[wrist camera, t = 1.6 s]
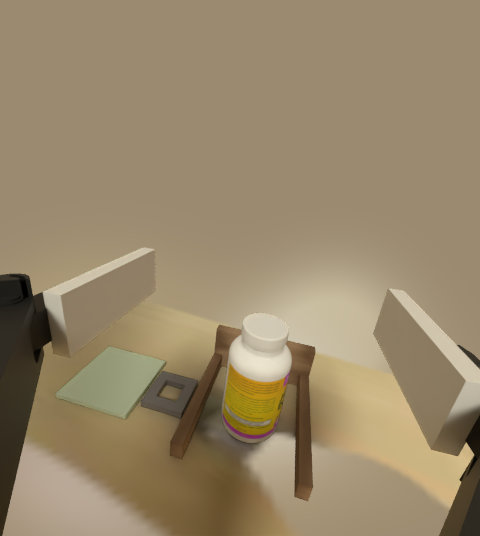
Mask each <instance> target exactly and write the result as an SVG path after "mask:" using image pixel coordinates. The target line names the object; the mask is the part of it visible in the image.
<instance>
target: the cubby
mask: <svg viewBox="0 0 480 536" xmlns="http://www.w3.org/2000/svg"><path fill="white" fill-rule="evenodd" d="M239 335H241V330H240V329H235V328H231V327H227V326H223V325H219V326H218V328H217V333H216V343H215V353H214V355H213V357H212V359H211V361H210V363H209V365H208V367H207V369H206V371H205V373H204V375H203V377H202V379H201V381H200V383H199V385H198V387H197V389H196V391H195V393H194V395H193V397H192V399H191V401H190V403H189V405H188V407H187V409H186V412H185V414H184V416H183V418H182V420H181V422H180V424H179V426H178V428H177V430H176V432H175V434H174V436H173V438H172V440H171V448H170V455H171V456H174V457H177V458H180V459H182V457H183V455H184V452H185V450H186V448H187V445H188V443H189V441H190V438H191V436H192V433H193V431H194V429H195V426H196V424H197V422H198V419H199V417H200V415H201V412H202V410H203V407H204V405H205V403H206V400H207V398H208V396H209V393H210V391H211V389H212V386H213V384H214V382H215V379H216V377H217V374H218V372H219V370H220V367H221V366H224V367H227V364H228V356H229V349H230V346H231V344H232V342H233V341H234V340H235V339H236V338H237V337H238V336H239ZM286 345H287V347H288V348H289V350H290V352H291V356H292V365H291V369H290V373H289V377H288V382H287V383H289V384H293V385H297V404H296V450H295V452H296V453H295V497H297V498H300V499H303V500H306V501H308V499H309V497H310V494H311V491H312V488H313V483H312V482H313V481H312V452H311V425H310V398H309V374H310V370H311V367H312V363H313V359H314V356H315V347H312V346H308V345H304V344H299V343H295V342H291V341H287V343H286Z"/></svg>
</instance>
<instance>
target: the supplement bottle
mask: <svg viewBox="0 0 480 536" xmlns="http://www.w3.org/2000/svg"><path fill="white" fill-rule="evenodd" d="M288 334H289V328H288V326H287V324H286V323H285V322H284V321H283V320H281V319H280V318H278V317H275V316H273V315H269V314H264V313H256V314H251V315H249V316H247V317H246V318H245V319H244V321H243V324H242V329H241V335H239V336H238V337H237V338H236V339H235V340H234V341H233V342H232V344H231V346H230V349H229V356H228V364H227V372H226V380H225V387H224V394H223V402H222V410H221V416H222V421H223V424H224V426H225V428H226V429H227V431H228V432H229V433H230V434H231V435H232V436H233V437H235V438H236V439H238V440H240V441H242V442H246V443H259V442H262V441H265V440H267V439H268V438H269V437H270V436H271V435H272V434H273V433H274V431H275V430H276V427H277V424H278V420H279V416H280V412H281V407H282V403H283V399H284V395H285V390H286V386H287V382H288V377H289V373H290V369H291V365H292V356H291V352H290V350H289V348H288V347H287V345H286V343H287V339H288Z"/></svg>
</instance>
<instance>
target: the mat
mask: <svg viewBox="0 0 480 536" xmlns="http://www.w3.org/2000/svg"><path fill="white" fill-rule="evenodd" d="M165 365H166V361H163V360H160V359H156V358H152V357H149V356H145V355H141V354H137V353H134V352H130V351H126V350H123V349H119V348H115V347H111V346H108V347H107V348H106V349H105V350H104V351H103V352H102V353H101V354H99V355H98V356H97V357H96V358H95V359H94V360H93V361H91V362H90V363H89V364H88V365H87V366H86V367H85V368H84V369H82V370H81V371H80V372H79V373H78V374H77V375H76V376H74V377H73V378H72V379H71V380H70V381H69V382H68V383H66V384H65V385H64V386H63V387H62V388H61V389H60V390H59V391H57V392H56V393H55V395H56V398H59V399H63V400H66V401H69V402H72V403H75V404H78V405H82V406H85V407H88V408H91V409H94V410H97V411H100V412H104V413H107V414H110V415H113V416H116V417H119V418H122V419H126V418H127V417H128V416H129V414H130V413H131V412H132V410H133V409H134V407H135V406H136V405H137V403H138V402H139V401H140V399H141V398H142V396H143V395H144V394H145V392H146V391H147V389H148V388H149V387H150V385H151V384H152V383H153V381H154V380H155V378H156V377H157V376H158V374H159V373H160V371H161V370H162V369H163V367H164V366H165Z"/></svg>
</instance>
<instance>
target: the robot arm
mask: <svg viewBox="0 0 480 536" xmlns="http://www.w3.org/2000/svg"><path fill="white" fill-rule="evenodd" d="M154 292H155V250H154V249H149V248H141V249H139V250H137V251H134V252H132V253H130V254H127V255H125V256H123V257H121V258H118V259H116V260H114V261H111V262H109V263H107V264H105V265H102V266H100V267H98V268H95V269H93V270H91V271H89V272H86V273H84V274H82V275H80V276H77V277H75V278H73V279H70V280H68V281H66V282H63V283H61V284H59V285H57V286H54V287H52V288H50V289H47V290H45V291H43V292H42V293H39V294H37V295H35V296H33V294H32V289H31V284H30V278H29V276H27V275H25V274H6V275H0V536H2V534H3V530H4V525H5V521H6V517H7V512H8V508H9V504H10V499H11V495H12V491H13V486H14V482H15V478H16V474H17V469H18V465H19V461H20V456H21V452H22V448H23V444H24V439H25V435H26V431H27V426H28V422H29V418H30V413H31V409H32V405H33V401H34V396H35V392H36V388H37V383H38V379H39V375H40V370H41V366H42V362H43V358H44V351H43V346H44V345H46V344H47V343H49V342H50V341H51V342H52V348H53V353H54V354H57V355H61V356H65V357H69V358H70V357H72V356H73V355H74V354H76V353H77V352H78V351H79V350H81V349H82V348H83V347H84V346H86V345H87V344H88V343H90V342H91V341H92V340H93V339H95V338H96V337H97V336H99V335H100V334H101V333H102V332H104V331H105V330H106V329H107V328H109V327H110V326H111V325H113V324H114V323H115V322H116V321H118V320H119V319H120V318H122V317H123V316H124V315H125V314H127V313H128V312H129V311H131V310H132V309H133V308H134V307H136V306H137V305H138V304H139V303H141V302H142V301H143V300H145V299H146V298H147V297H148V296H150V295H151V294H152V293H154ZM373 334H374V336H375V338H376V340H377V342H378V344H379V346H380V348H381V350H382V352H383V354H384V356H385V358H386V360H387V362H388V364H389V366H390V368H391V370H392V372H393V374H394V376H395V378H396V380H397V382H398V384H399V386H400V388H401V390H402V392H403V394H404V396H405V398H406V400H407V402H408V404H409V406H410V408H411V410H412V412H413V414H414V416H415V418H416V420H417V422H418V424H419V426H420V428H421V430H422V432H423V434H424V436H425V438H426V440H427V442H428V444H429V446H430V448H431V450H435V451H439V452H443V453H447V454H451V455H455V456H458V455H459V454H460V452H461V450H462V448H463V447H464V445H465V443H466V442H467V444H468V445H469V447H470V448H471V450H472V452H473V453H474V457H473V458H472V460H471V462H470V463H469V465H468V467H467V468H466V470H465V472H464V473H463V475H462V477H461V478H460V481H461V485H460V487H459V490H458V492H457V494H456V497H455V499H454V502H453V504H452V506H451V509H450V511H449V514H448V516H447V519H446V521H445V523H444V526H443V528H442V530H441V533H440V535H439V536H480V360H479V359H477V357H476V356H475V355H473V354H472V353H470V352H469V351H467V350H466V349H464V348H463V347H461V346H460V345H456V344H455V343H454V342H453V341H452V340H451V339H450V338H449V337H448V336H447V335H446V334H445V333H444V332H443V331H442V330H441V329H440V328H439V327H438V326H437V325H436V324H435V322H434V321H433V320H432V319H431V318H430V317H429V316H428V315H427V314H426V313H425V312H424V311H423V310H422V309H421V308H420V307H419V306H418V305H417V304H416V303H415V302H414V301H413V300H412V299H411V298H410V297H409V296H408V294H407V293H406V292H405V291H402V290H395V289H390V288H389V289H388V290H387V294H386V296H385V300H384V302H383V306H382V309H381V312H380V315H379V318H378V321H377V324H376V327H375V330H374V333H373Z"/></svg>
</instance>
